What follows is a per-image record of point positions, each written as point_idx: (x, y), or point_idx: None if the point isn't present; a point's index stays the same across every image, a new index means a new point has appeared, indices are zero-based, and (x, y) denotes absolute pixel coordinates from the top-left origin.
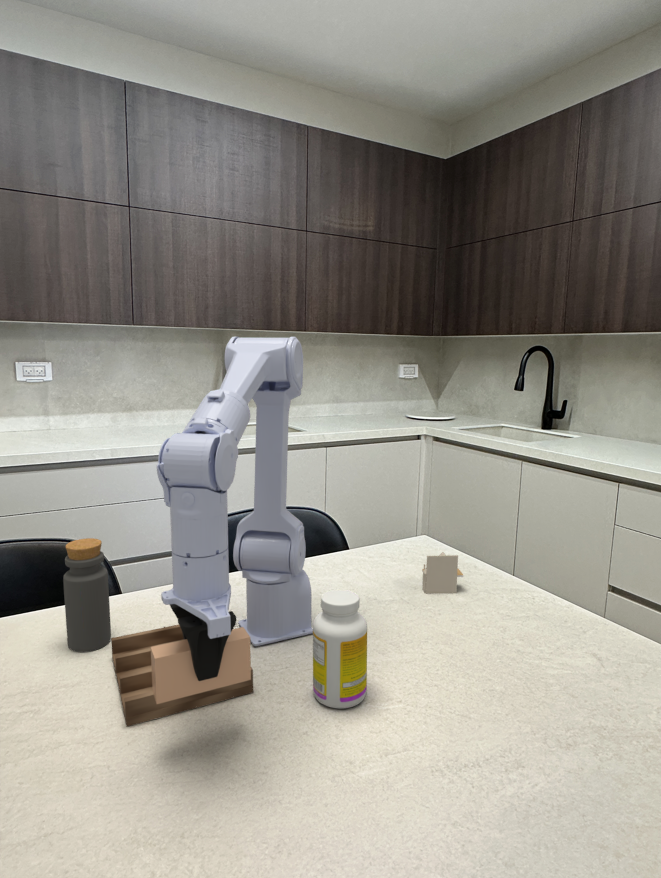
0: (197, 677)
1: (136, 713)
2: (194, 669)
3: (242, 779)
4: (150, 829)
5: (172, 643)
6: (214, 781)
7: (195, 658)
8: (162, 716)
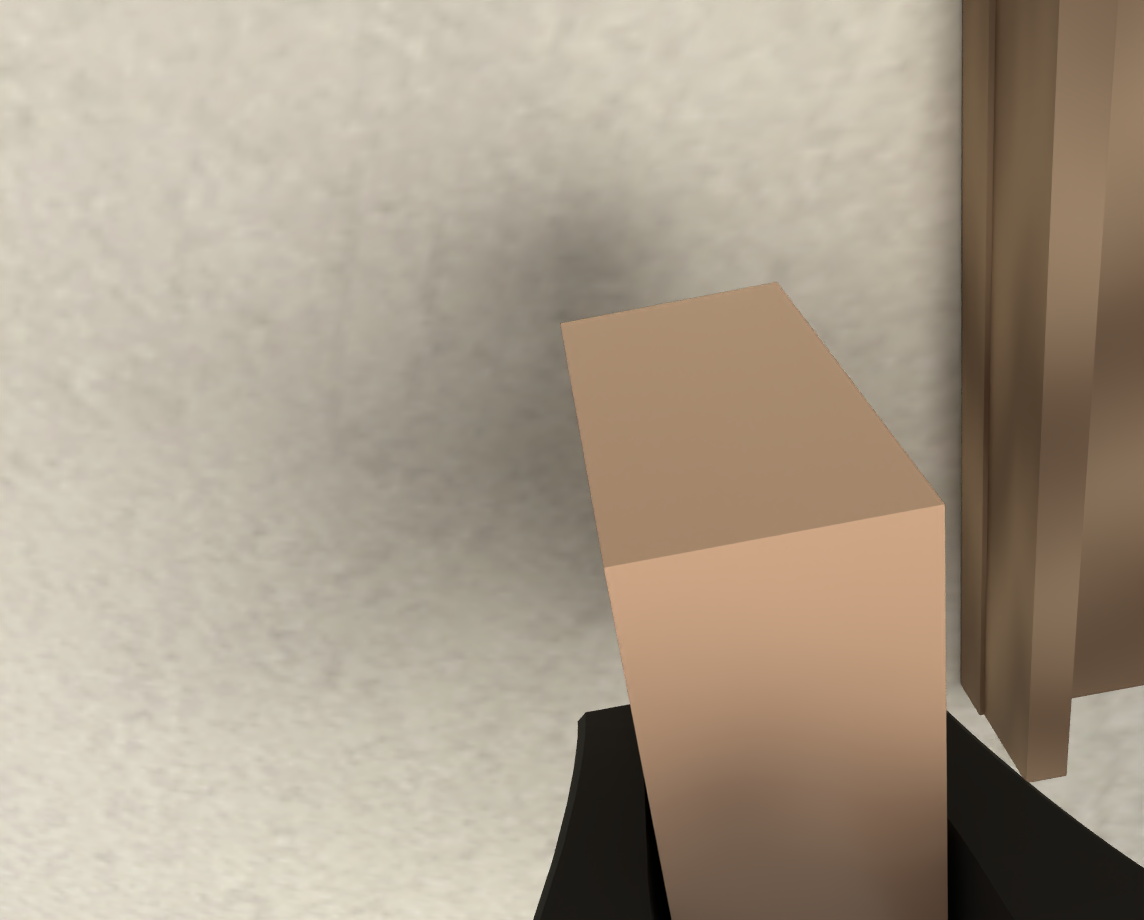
0: (581, 734)
1: (1003, 34)
2: (615, 763)
3: (305, 589)
4: (8, 151)
5: (916, 734)
6: (314, 469)
7: (537, 910)
8: (964, 199)
